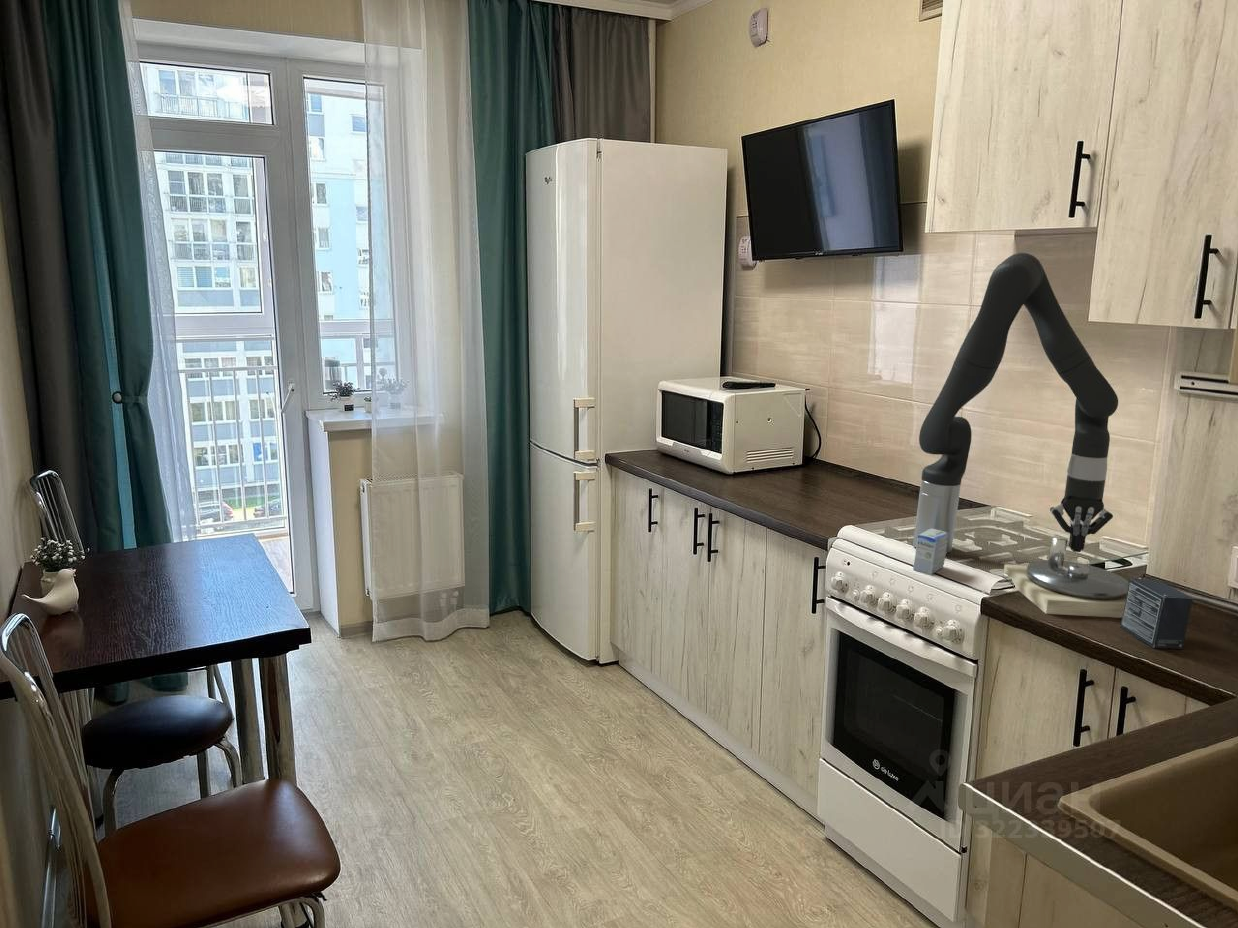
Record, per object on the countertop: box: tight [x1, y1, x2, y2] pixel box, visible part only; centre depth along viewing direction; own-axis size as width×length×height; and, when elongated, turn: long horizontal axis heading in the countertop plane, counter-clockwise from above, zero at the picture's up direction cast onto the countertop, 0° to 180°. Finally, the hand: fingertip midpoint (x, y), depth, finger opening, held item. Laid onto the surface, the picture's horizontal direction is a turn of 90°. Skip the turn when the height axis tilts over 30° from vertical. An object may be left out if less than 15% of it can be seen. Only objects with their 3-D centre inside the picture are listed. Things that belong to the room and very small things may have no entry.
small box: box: [1119, 577, 1194, 650], centre depth 175 cm, size 11×6×10 cm, turn 5°
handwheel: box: [1026, 535, 1129, 599], centre depth 195 cm, size 20×20×8 cm
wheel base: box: [1003, 564, 1127, 619], centre depth 196 cm, size 22×22×3 cm
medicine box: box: [913, 529, 949, 575], centre depth 209 cm, size 8×4×9 cm, turn 141°
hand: (1075, 550), depth 202 cm, fingers closed
